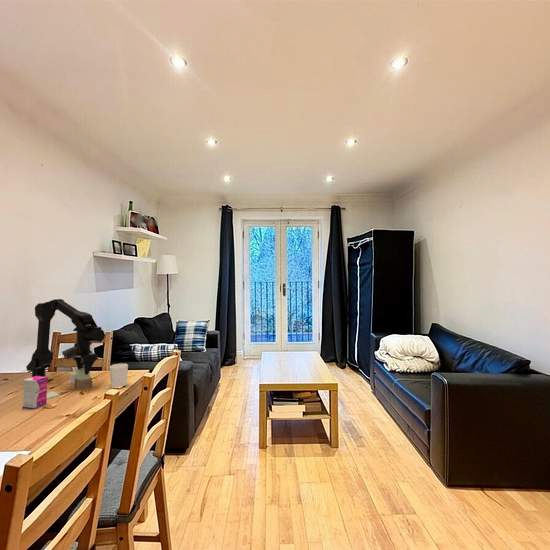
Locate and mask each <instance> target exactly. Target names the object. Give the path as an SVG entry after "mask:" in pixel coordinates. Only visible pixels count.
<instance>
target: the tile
mask: <svg viewBox="0 0 550 550" xmlns="http://www.w3.org/2000/svg"><path fill="white" fill-rule="evenodd" d="M56 396H58V397H60V396H61V394H59V393H57V392H56V391H52V392H51V391H50V392H47V400H49V399H53V398H56ZM52 397H53V398H52ZM48 398H49V399H48Z"/></svg>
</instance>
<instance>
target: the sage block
mask: <svg viewBox="0 0 550 550" xmlns="http://www.w3.org/2000/svg"><path fill="white" fill-rule="evenodd" d="M75 372H76V379H77V380H79V381H81V380H86V379H90V378H91V375H90V374H91V370H90V371H89V373H88V375H85V371H84V367H83V368H82V369H78V368H77V369H75Z"/></svg>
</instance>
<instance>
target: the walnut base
mask: <svg viewBox="0 0 550 550" xmlns="http://www.w3.org/2000/svg"><path fill="white" fill-rule="evenodd" d="M92 387H93V378H91V377H90V379H86V380H81V381H79V380H77V379H75V383H74V388H75V389H76V388H77V389H76V390H78V391H79V389H80V390H84V389H87V388H92Z"/></svg>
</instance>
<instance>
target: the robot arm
mask: <svg viewBox="0 0 550 550" xmlns="http://www.w3.org/2000/svg"><path fill="white" fill-rule="evenodd" d="M56 311H59V312H61V314H64V316H66V317H68V318H69V319H70V321H71V323H72V324H73V325H74V326H75V328H73V330H72V331H73V332H76V342H74V345H73V346H72V347H69V348H67V349H66V350H63V351H62V352H61V353H62V355H63V357H64V359H66V360H70V359H72V360H73V361H75V365H76V367H77V369H82V368H84V371H85V375H88V373H89V371H90V372H91V369H92V367H93V365H94V364H95V362H96V361H98V360H99V356H98V354H96V353H94V352H92V350H91V345H93V343H92V342H98V343H100V342H103V340H104V339H105V337H106V333H105V331H104V330H103V329H102V326H98V324H97V323H96V321H95V320H94V317H93V315H92V314H90V313H88V312H84V311H80V310H78V309H77V308H75V307H73V305H71V304H69V303H68V302H66V301H65V300H64V299H62V298H57V299H52V300H49V301H47V302H46V301H45V302H42V303H40V302H39V303H37V305H35V307H34V316H35V317H36V319H37V320H38V322H37V323H38V325H37V326H38V327H37V337H36V349H35V350H34V351H33V353H32V355H31V360H30V361H29V362H28V363H27V365H26V367H25V368H26V371H27V372H31V377H34V376H42V377H47V376H46V369H47V368H50V367H51V365H52V362H53V360H54V356H53V355H54V352H53V351H51V350H50V348H49V346H50V332H51V321H52V320H53V317H54V316H55V314H56ZM47 380H48V381H49V379H48V378H47Z"/></svg>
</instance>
